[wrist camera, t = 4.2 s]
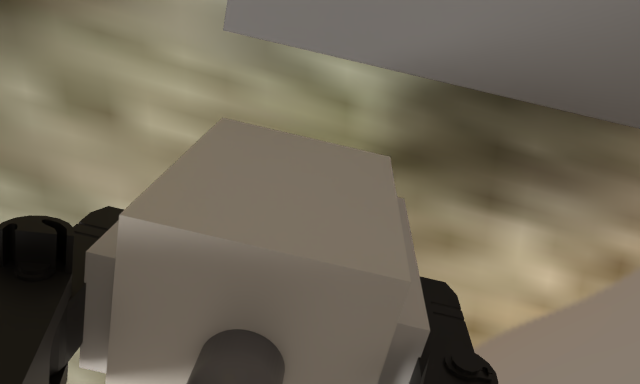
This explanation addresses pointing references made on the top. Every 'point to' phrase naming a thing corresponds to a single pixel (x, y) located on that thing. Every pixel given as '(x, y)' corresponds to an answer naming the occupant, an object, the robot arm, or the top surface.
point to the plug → (259, 265)
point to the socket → (475, 44)
